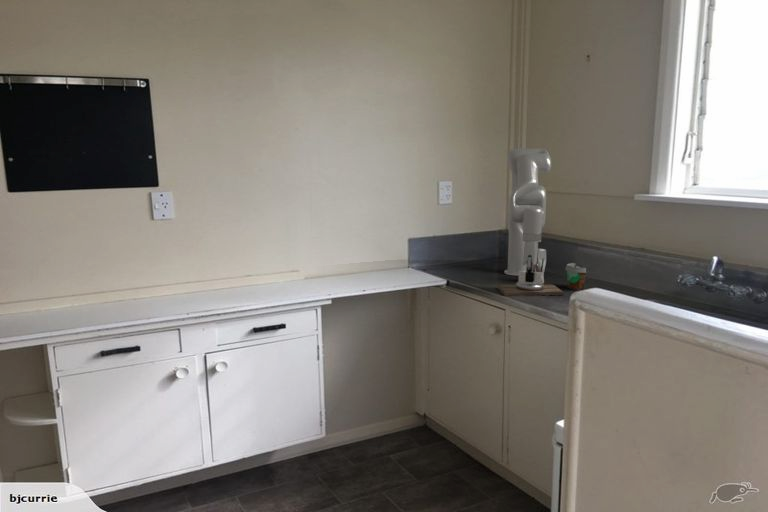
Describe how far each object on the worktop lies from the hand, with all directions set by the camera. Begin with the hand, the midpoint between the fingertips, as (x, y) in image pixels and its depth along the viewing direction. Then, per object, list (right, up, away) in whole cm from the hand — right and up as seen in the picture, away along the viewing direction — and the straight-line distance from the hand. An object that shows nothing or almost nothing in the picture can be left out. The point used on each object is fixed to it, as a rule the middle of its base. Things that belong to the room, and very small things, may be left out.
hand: (530, 280), depth 255 cm
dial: (0, -3, 0) cm, 3 cm away
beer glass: (+8, -2, +19) cm, 21 cm away
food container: (+20, -4, +7) cm, 22 cm away
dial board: (0, -5, +1) cm, 5 cm away
